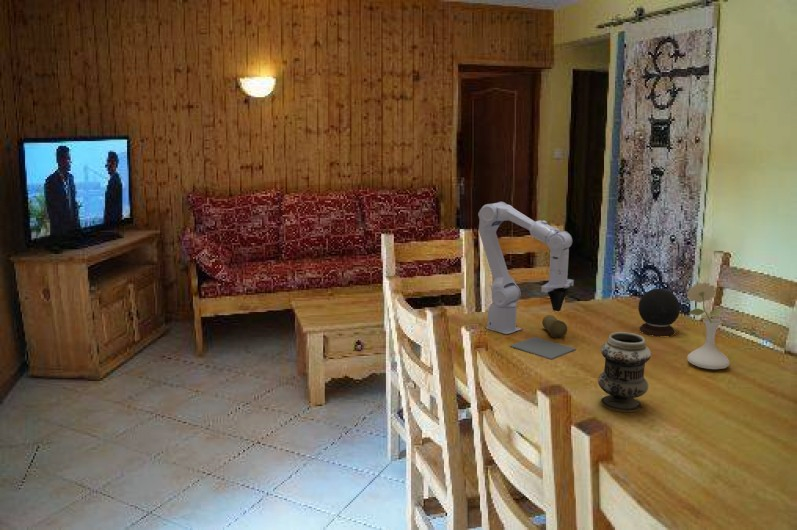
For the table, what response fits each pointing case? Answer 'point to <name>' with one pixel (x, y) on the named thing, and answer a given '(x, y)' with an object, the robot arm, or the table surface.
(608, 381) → the apothecary jar
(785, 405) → the table surface
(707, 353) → the flower in vase
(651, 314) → the black ball on stand
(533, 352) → the topple mat
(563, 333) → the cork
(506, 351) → the table surface
